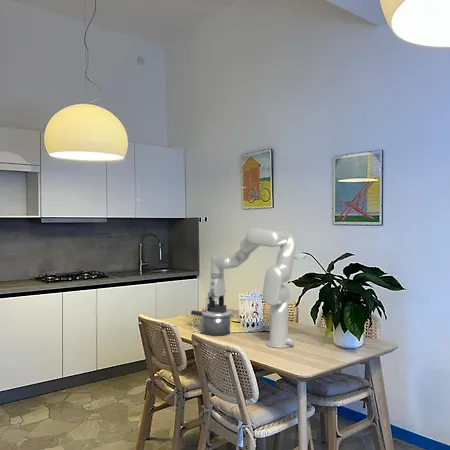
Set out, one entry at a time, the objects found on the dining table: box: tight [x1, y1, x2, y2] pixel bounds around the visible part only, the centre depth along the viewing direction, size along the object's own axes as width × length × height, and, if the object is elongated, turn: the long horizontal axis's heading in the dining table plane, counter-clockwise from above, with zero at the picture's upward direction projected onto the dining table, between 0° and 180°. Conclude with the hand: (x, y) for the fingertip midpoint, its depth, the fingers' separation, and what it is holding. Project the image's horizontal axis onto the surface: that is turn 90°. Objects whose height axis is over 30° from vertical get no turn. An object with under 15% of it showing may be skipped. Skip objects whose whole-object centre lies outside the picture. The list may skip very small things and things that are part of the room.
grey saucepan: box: [190, 309, 232, 337], centre depth 259 cm, size 25×17×11 cm, turn 58°
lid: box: [201, 304, 233, 317], centre depth 257 cm, size 17×17×5 cm
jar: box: [204, 297, 219, 309], centre depth 282 cm, size 11×10×15 cm
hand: (216, 305), depth 257 cm, fingers open, 9 cm apart
